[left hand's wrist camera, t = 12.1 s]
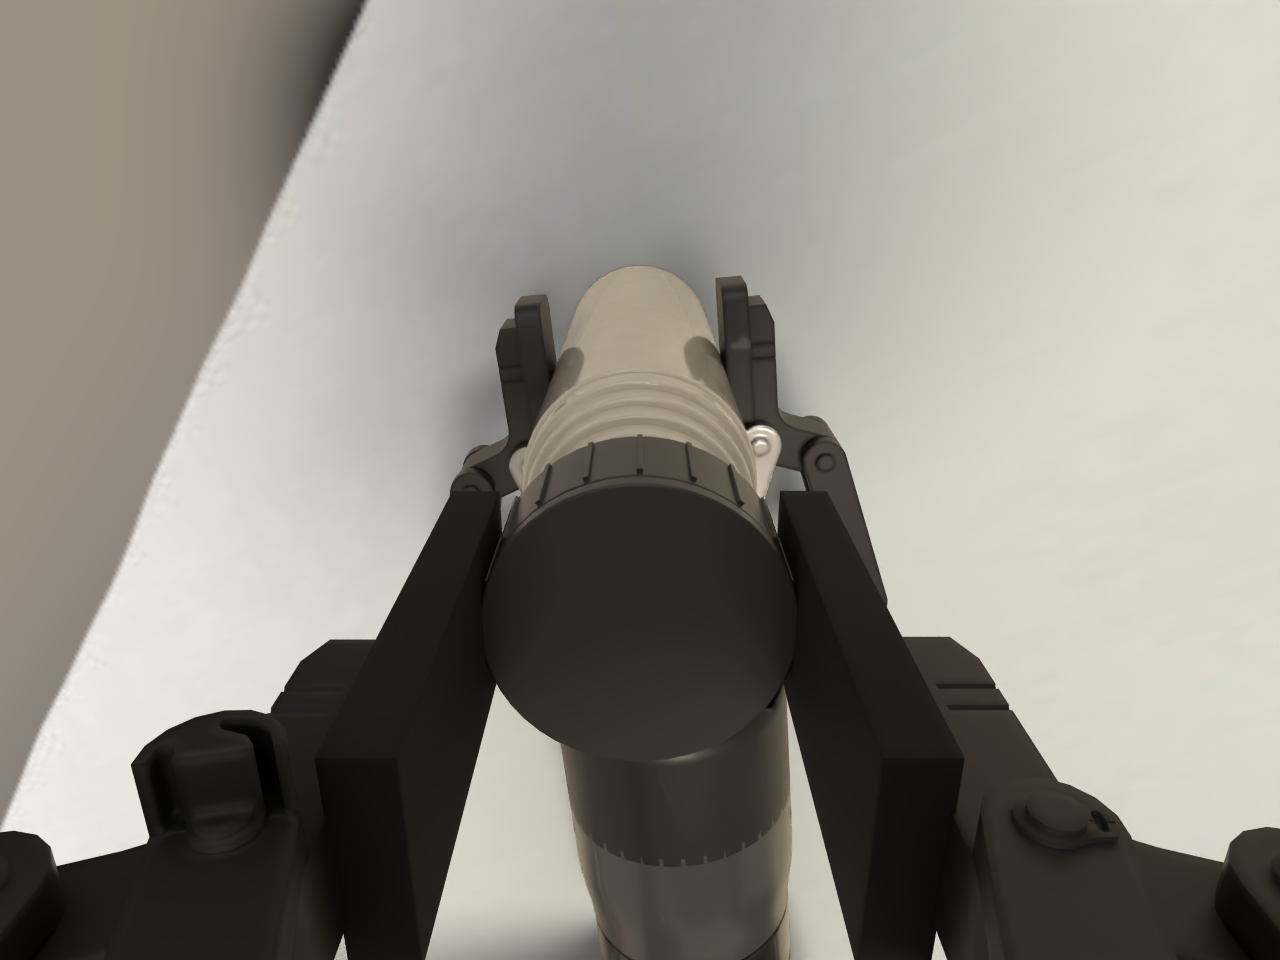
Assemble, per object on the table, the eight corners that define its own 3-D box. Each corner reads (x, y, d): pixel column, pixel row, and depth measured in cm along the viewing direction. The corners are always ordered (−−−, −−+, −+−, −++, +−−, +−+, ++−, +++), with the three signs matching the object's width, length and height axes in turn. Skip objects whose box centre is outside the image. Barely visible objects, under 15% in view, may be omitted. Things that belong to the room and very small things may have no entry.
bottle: (596, 245, 30) (530, 420, 12) (727, 292, 31) (855, 527, 13) (555, 375, 32) (440, 701, 14) (680, 417, 33) (731, 784, 14)
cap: (544, 391, 14) (528, 434, 12) (827, 485, 14) (857, 540, 12) (465, 641, 15) (440, 715, 13) (721, 716, 16) (733, 797, 14)
